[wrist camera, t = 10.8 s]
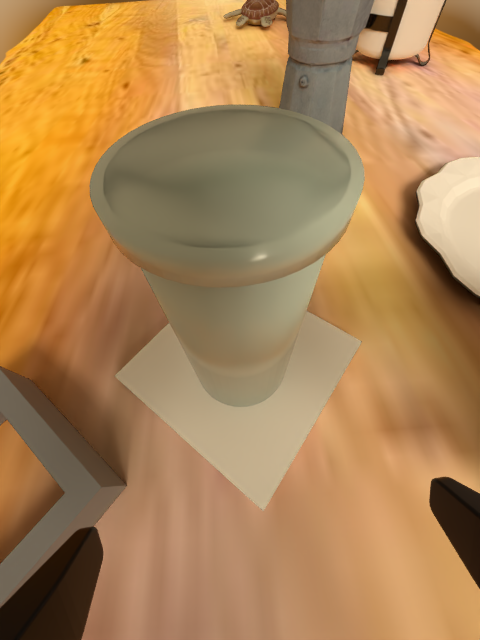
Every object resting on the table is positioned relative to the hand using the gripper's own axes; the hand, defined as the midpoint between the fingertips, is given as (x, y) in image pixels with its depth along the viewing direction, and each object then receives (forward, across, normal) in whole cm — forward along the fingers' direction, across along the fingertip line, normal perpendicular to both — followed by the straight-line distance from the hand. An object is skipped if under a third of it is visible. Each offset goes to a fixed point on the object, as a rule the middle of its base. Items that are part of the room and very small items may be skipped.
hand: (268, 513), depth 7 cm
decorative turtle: (+75, -15, -62) cm, 99 cm away
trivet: (+12, 0, +1) cm, 12 cm away
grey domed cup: (+12, 0, -1) cm, 12 cm away
